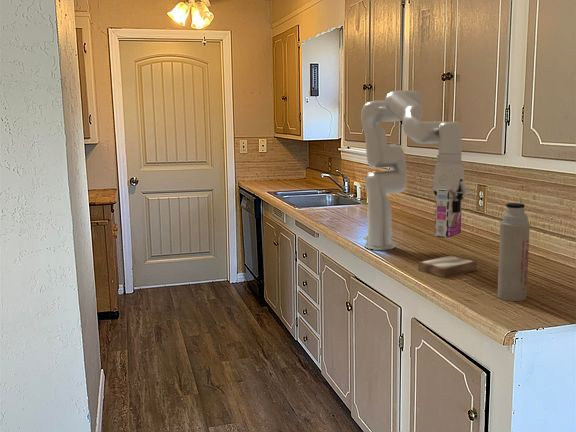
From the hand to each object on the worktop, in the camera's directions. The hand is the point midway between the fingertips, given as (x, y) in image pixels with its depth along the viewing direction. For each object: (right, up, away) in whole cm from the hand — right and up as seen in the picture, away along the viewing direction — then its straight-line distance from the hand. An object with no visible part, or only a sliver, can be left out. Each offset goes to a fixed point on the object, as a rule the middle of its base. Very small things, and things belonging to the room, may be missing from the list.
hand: (448, 210), depth 197 cm
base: (0, -21, +4) cm, 21 cm away
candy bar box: (0, -9, +2) cm, 9 cm away
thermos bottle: (+11, -26, -27) cm, 39 cm away
